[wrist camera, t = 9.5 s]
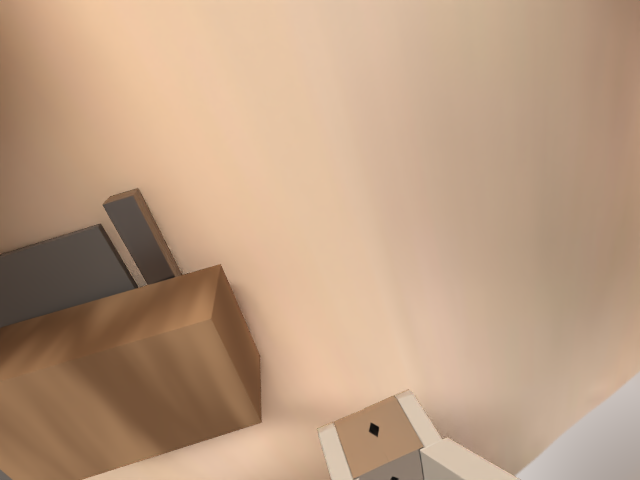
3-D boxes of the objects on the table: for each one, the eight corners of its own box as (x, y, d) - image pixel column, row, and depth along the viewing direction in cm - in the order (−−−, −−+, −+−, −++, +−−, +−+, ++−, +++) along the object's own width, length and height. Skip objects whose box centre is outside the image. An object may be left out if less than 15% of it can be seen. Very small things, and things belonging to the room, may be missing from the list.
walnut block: (211, 318, 12) (-77, 404, 12) (261, 422, 15) (31, 495, 14) (220, 264, 16) (1, 327, 15) (259, 355, 18) (75, 412, 18)
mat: (100, 223, 15) (97, 227, 15) (203, 399, 20) (203, 404, 20) (-223, 323, 13) (-235, 330, 13) (-13, 488, 18) (-18, 495, 18)
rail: (138, 188, 15) (132, 195, 14) (242, 396, 21) (244, 411, 20) (109, 196, 15) (102, 204, 14) (224, 403, 21) (225, 420, 20)
